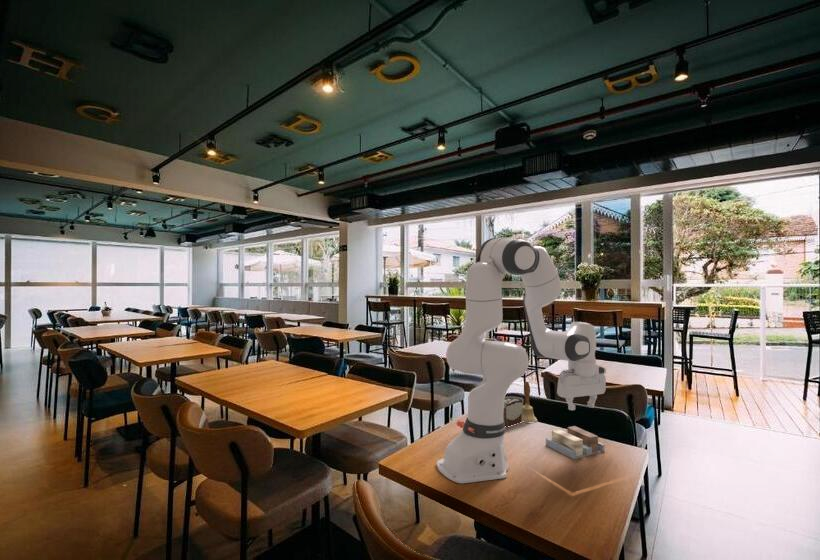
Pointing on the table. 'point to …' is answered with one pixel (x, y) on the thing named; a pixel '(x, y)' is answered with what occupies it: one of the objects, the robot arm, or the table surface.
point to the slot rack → (571, 453)
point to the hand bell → (527, 406)
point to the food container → (512, 410)
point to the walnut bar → (584, 437)
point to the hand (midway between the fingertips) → (581, 408)
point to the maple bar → (568, 441)
